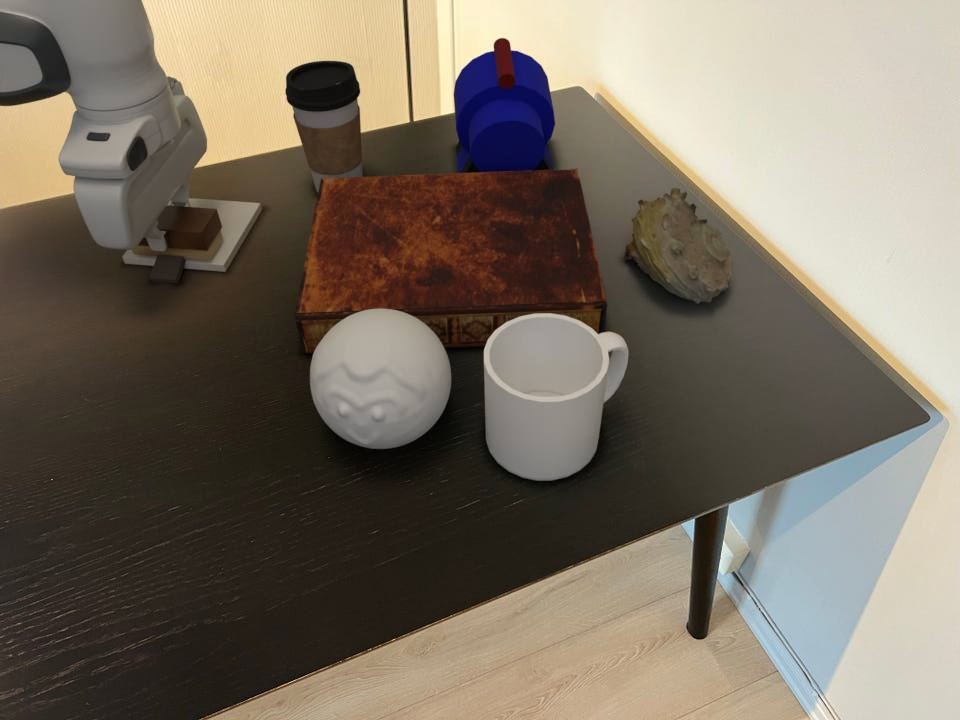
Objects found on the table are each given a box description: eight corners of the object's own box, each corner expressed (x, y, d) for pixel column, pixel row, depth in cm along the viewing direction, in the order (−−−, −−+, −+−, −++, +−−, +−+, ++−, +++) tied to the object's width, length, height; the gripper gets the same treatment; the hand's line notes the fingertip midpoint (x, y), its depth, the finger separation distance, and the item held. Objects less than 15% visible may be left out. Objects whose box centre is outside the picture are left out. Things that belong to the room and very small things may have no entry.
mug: (513, 498, 66) (514, 418, 59) (468, 414, 73) (464, 333, 65) (644, 450, 69) (661, 368, 62) (590, 374, 76) (599, 292, 69)
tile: (124, 263, 89) (121, 256, 89) (169, 203, 98) (167, 196, 97) (225, 272, 88) (223, 265, 87) (262, 209, 96) (260, 202, 96)
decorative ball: (304, 468, 69) (276, 373, 60) (344, 369, 77) (324, 273, 68) (439, 485, 67) (429, 390, 59) (465, 383, 75) (460, 286, 67)
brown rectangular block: (131, 255, 88) (118, 226, 85) (148, 232, 91) (136, 202, 88) (211, 262, 87) (201, 232, 84) (225, 237, 90) (216, 208, 87)
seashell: (656, 334, 81) (679, 263, 73) (597, 242, 90) (611, 169, 82) (749, 310, 84) (781, 239, 76) (683, 223, 92) (705, 150, 85)
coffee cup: (355, 210, 96) (337, 93, 85) (293, 199, 98) (267, 83, 87) (384, 174, 101) (369, 59, 90) (324, 163, 103) (303, 51, 93)
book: (303, 355, 78) (293, 318, 75) (327, 213, 95) (321, 177, 92) (602, 343, 79) (607, 305, 75) (574, 204, 96) (577, 168, 92)
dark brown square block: (152, 281, 87) (149, 277, 86) (160, 258, 88) (157, 254, 88) (178, 283, 87) (175, 279, 86) (186, 260, 88) (183, 256, 87)
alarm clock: (546, 139, 106) (551, 27, 96) (558, 190, 98) (565, 74, 87) (455, 143, 106) (450, 32, 95) (459, 196, 97) (454, 79, 87)
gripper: (146, 67, 85) (183, 178, 95) (47, 170, 71) (102, 287, 81) (202, 69, 85) (233, 181, 95) (113, 174, 71) (160, 292, 80)
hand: (172, 231), depth 88 cm, fingers closed on brown rectangular block, 4 cm apart
